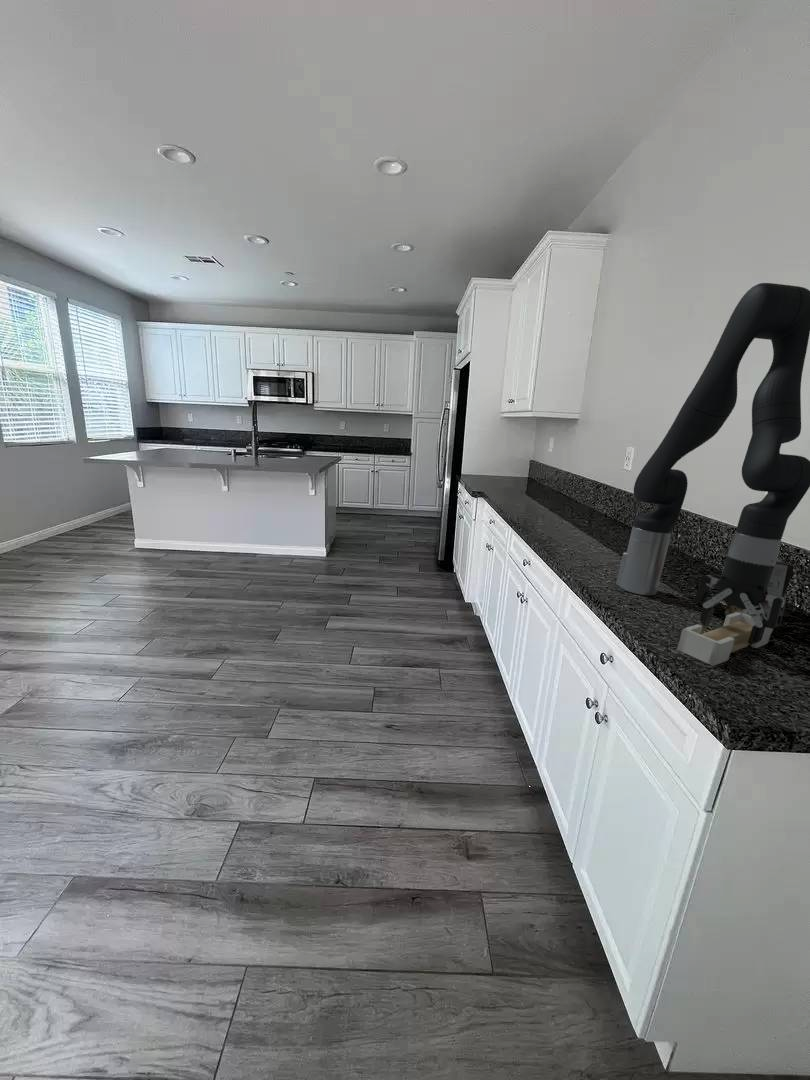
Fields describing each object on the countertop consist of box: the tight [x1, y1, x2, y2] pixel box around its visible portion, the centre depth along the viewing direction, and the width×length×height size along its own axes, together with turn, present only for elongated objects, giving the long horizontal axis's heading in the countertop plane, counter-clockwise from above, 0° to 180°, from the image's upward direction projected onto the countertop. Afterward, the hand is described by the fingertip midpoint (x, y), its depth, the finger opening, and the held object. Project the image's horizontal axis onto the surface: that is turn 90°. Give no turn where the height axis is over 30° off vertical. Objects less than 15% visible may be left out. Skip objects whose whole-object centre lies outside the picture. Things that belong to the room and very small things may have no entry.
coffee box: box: [724, 558, 795, 634], centre depth 102 cm, size 9×6×16 cm
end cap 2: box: [722, 612, 773, 649], centre depth 94 cm, size 7×6×4 cm
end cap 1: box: [676, 623, 735, 667], centre depth 84 cm, size 7×6×4 cm
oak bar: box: [700, 621, 753, 654], centre depth 88 cm, size 3×18×4 cm, turn 121°
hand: (728, 633), depth 89 cm, fingers open, 8 cm apart
